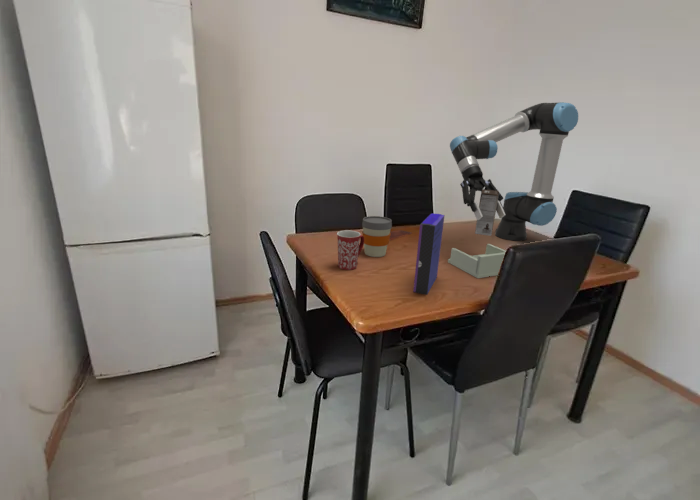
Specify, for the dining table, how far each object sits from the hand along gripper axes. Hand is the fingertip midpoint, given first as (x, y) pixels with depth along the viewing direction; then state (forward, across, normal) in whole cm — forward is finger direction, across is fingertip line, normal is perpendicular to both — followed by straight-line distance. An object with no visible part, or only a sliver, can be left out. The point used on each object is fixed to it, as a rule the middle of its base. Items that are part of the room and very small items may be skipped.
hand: (491, 217), depth 152 cm
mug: (+2, +50, -28) cm, 57 cm away
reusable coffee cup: (-5, +34, -36) cm, 49 cm away
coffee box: (+3, 0, -7) cm, 7 cm away
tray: (+14, -1, -16) cm, 21 cm away
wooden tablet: (-20, +14, -51) cm, 57 cm away
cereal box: (+19, +31, -11) cm, 38 cm away
